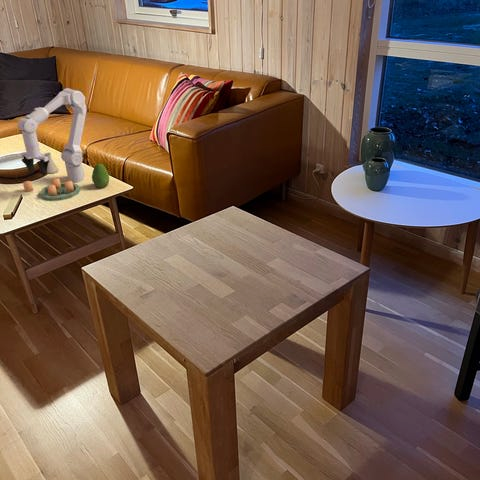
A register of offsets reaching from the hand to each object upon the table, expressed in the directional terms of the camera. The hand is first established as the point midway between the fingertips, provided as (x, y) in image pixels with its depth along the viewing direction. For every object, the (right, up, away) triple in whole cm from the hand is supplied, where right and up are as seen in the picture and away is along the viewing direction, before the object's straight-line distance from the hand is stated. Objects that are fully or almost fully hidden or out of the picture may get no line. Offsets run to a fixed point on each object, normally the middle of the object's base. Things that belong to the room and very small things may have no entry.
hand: (38, 173), depth 215 cm
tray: (+9, -9, +3) cm, 13 cm away
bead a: (+14, -8, +3) cm, 16 cm away
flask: (-5, +5, +28) cm, 29 cm away
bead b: (+7, -7, +6) cm, 11 cm away
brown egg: (-7, -8, +5) cm, 11 cm away
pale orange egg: (+7, -11, -1) cm, 13 cm away
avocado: (+27, -6, +9) cm, 29 cm away
